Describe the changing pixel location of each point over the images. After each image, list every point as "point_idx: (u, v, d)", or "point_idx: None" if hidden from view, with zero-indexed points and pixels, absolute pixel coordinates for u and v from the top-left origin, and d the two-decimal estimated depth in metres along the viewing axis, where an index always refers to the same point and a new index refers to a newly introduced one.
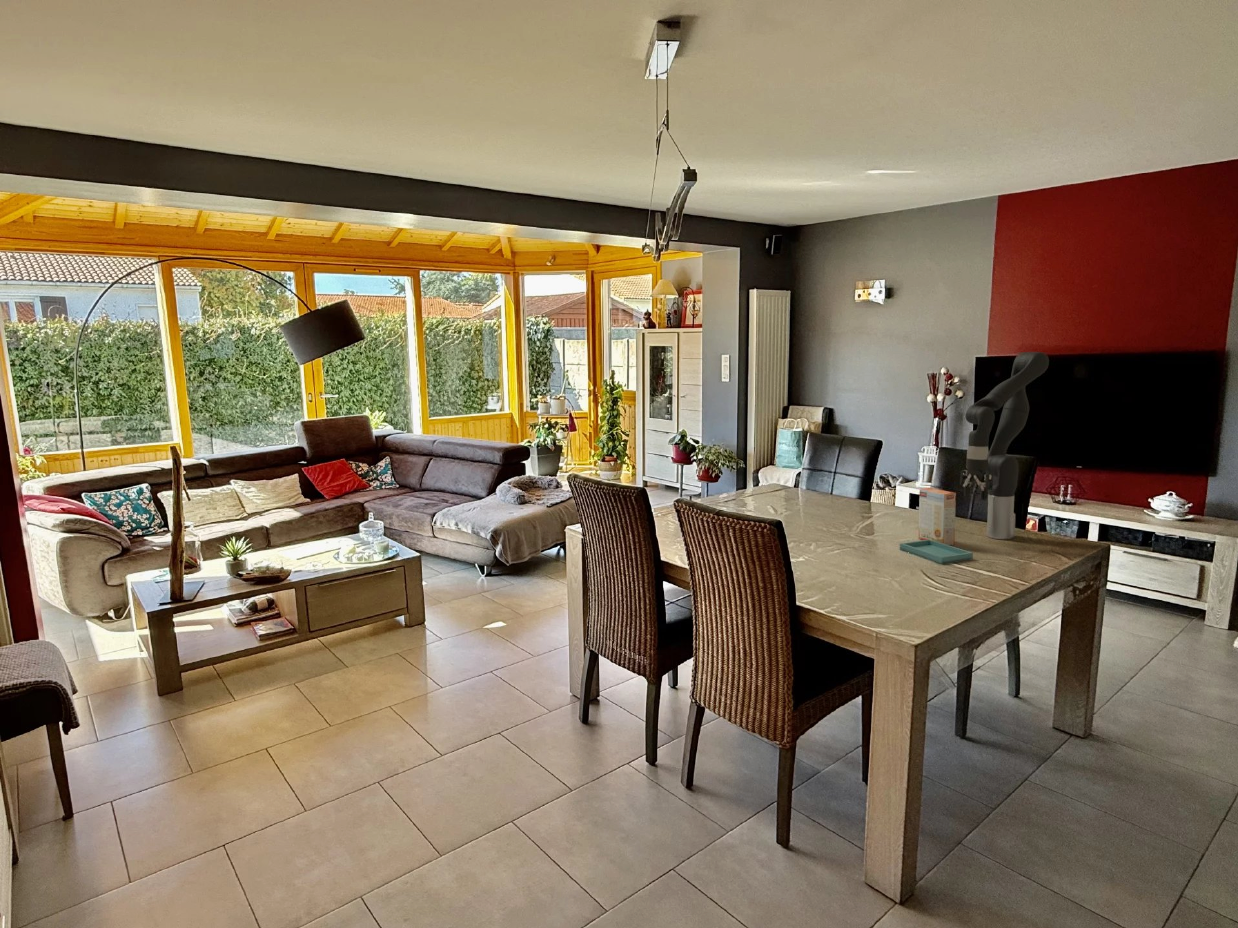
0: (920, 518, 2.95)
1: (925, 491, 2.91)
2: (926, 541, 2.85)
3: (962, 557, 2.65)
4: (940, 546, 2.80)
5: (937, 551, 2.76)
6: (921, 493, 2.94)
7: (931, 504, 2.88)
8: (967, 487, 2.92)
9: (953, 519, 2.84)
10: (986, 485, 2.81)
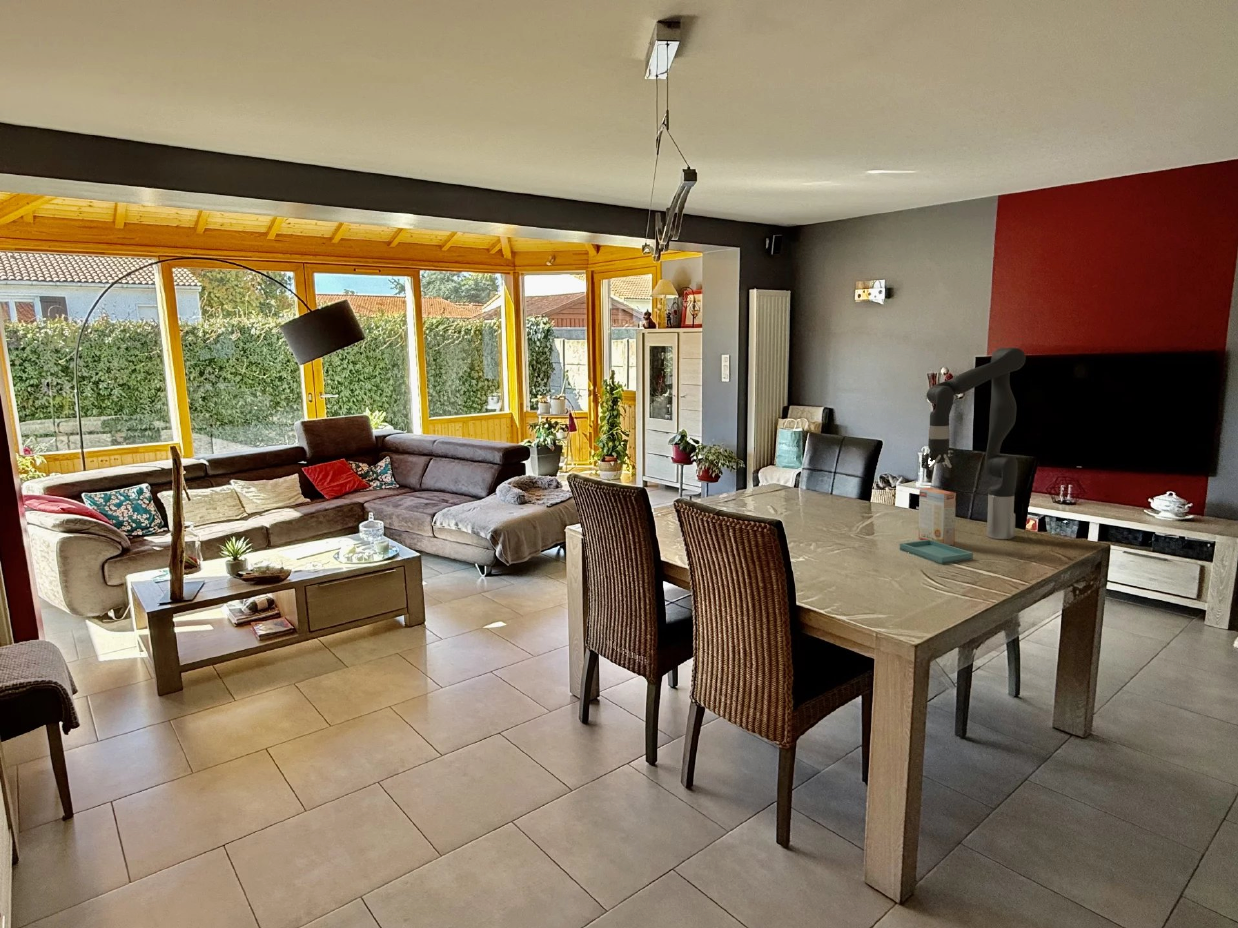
0: (920, 518, 2.95)
1: (925, 491, 2.91)
2: (926, 541, 2.85)
3: (962, 557, 2.65)
4: (940, 546, 2.80)
5: (937, 551, 2.76)
6: (921, 493, 2.94)
7: (931, 504, 2.88)
8: None
9: (953, 519, 2.84)
10: (953, 461, 2.88)
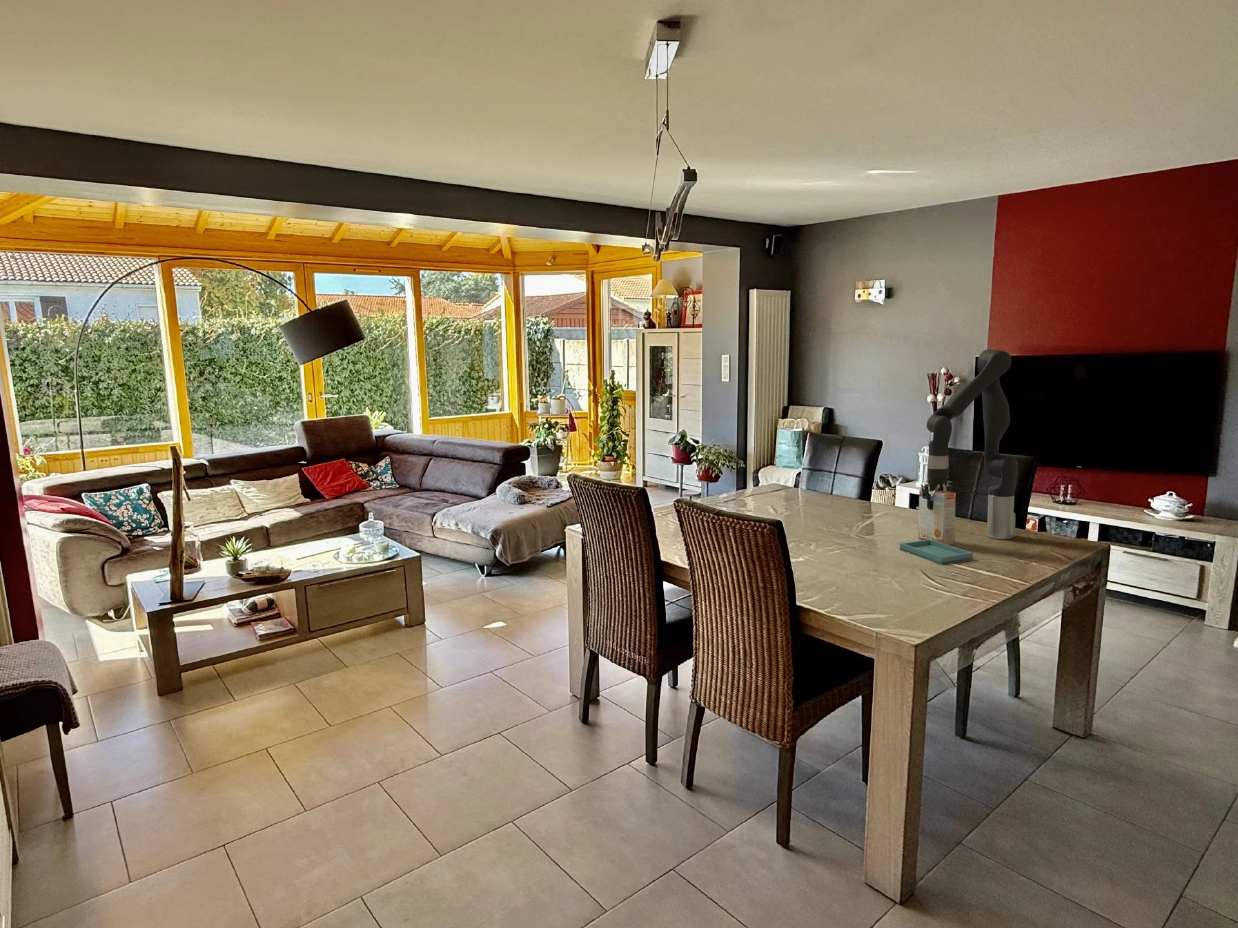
0: (920, 518, 2.95)
1: None
2: (926, 541, 2.85)
3: (962, 557, 2.65)
4: (940, 546, 2.80)
5: (937, 551, 2.76)
6: (921, 493, 2.94)
7: None
8: None
9: (953, 519, 2.84)
10: None
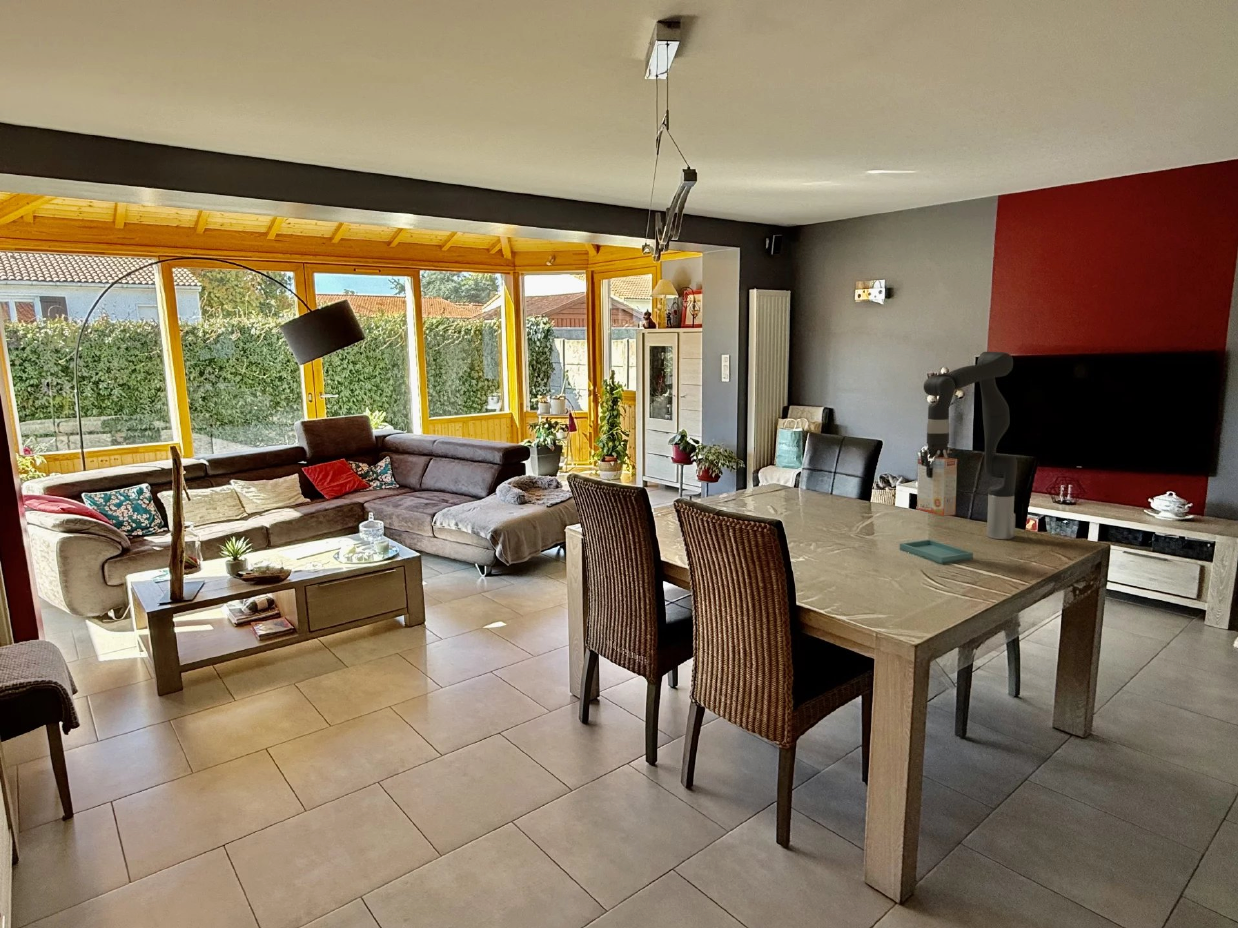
0: (919, 487, 2.76)
1: None
2: (926, 541, 2.85)
3: (962, 557, 2.65)
4: (940, 546, 2.80)
5: (937, 551, 2.76)
6: (920, 460, 2.74)
7: None
8: None
9: (954, 487, 2.65)
10: None
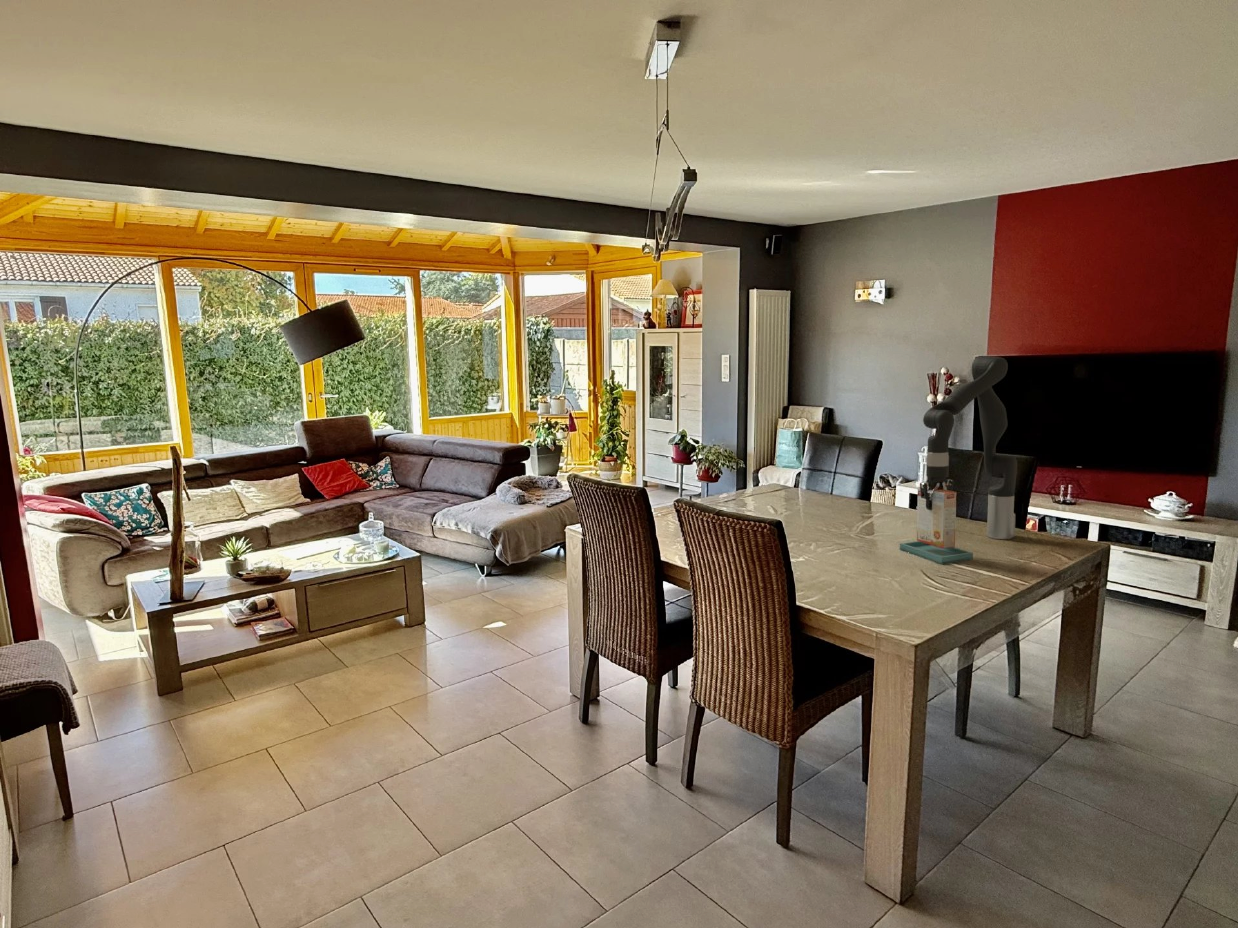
0: (919, 518, 2.77)
1: None
2: None
3: (962, 557, 2.65)
4: None
5: (937, 551, 2.76)
6: (919, 492, 2.76)
7: None
8: None
9: (953, 520, 2.67)
10: None
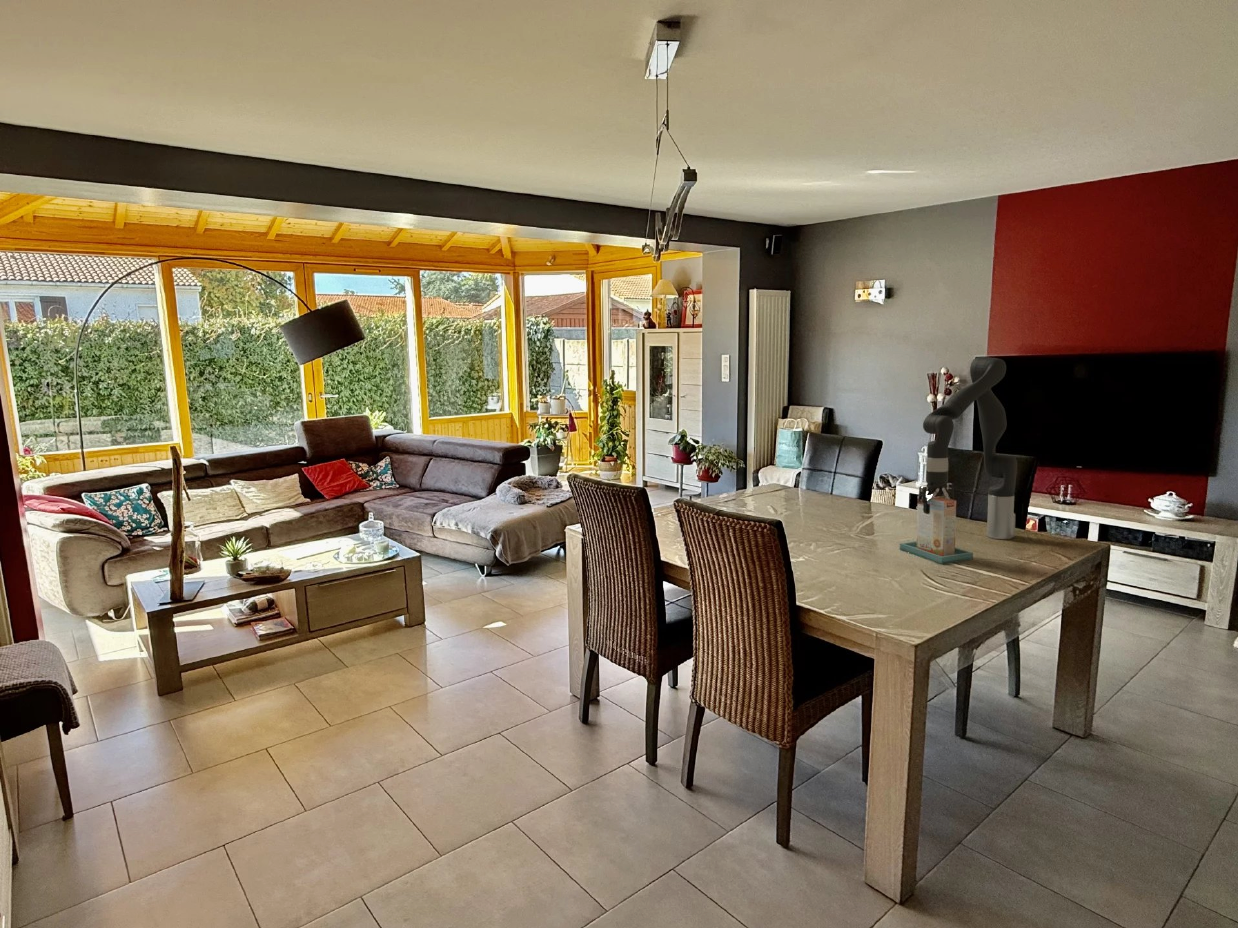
0: (919, 526, 2.78)
1: None
2: None
3: (962, 557, 2.65)
4: None
5: None
6: None
7: (930, 512, 2.71)
8: None
9: (953, 528, 2.67)
10: (952, 494, 2.72)
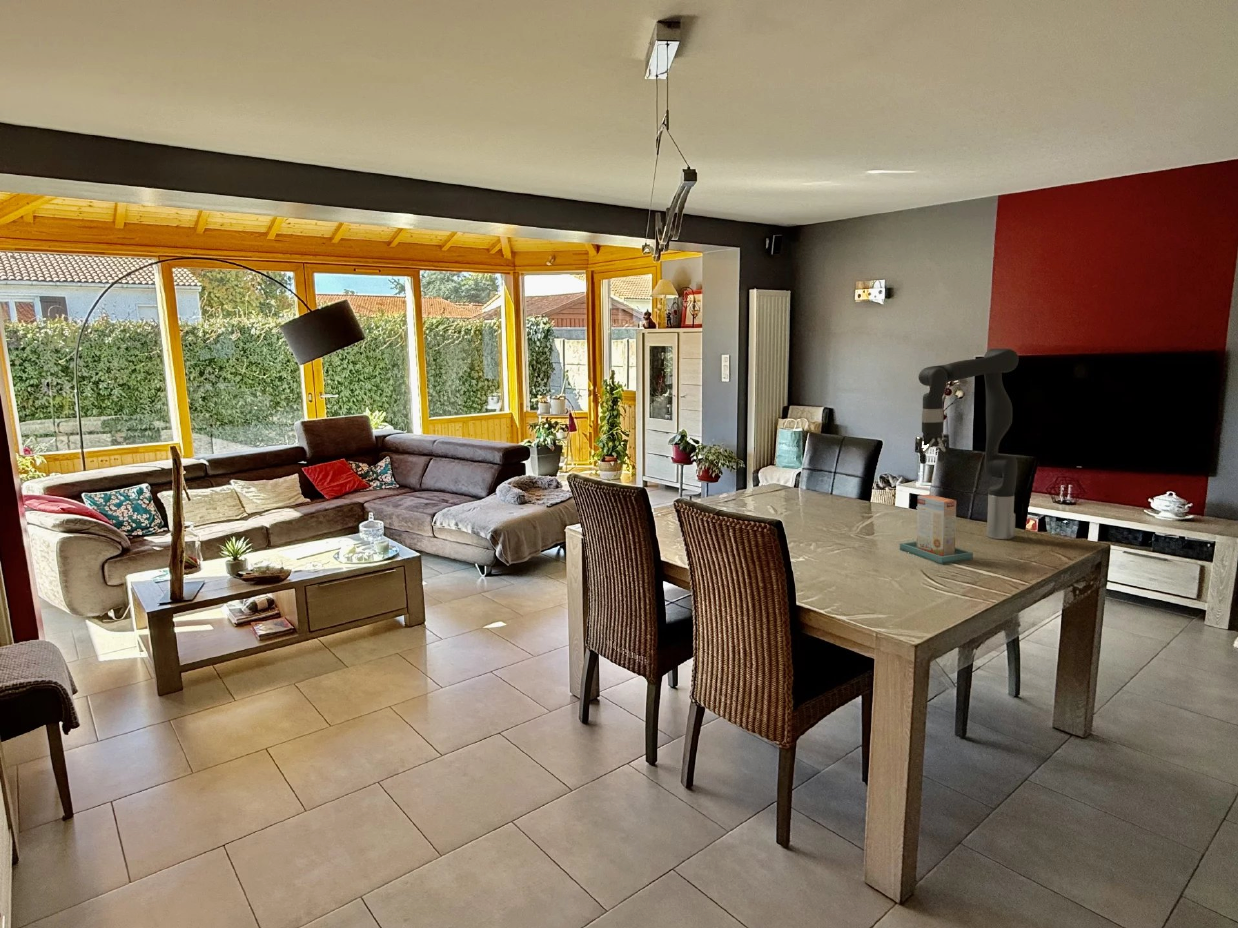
0: (919, 526, 2.78)
1: (924, 498, 2.74)
2: None
3: (962, 557, 2.65)
4: None
5: None
6: (919, 500, 2.76)
7: (930, 512, 2.71)
8: None
9: (953, 528, 2.67)
10: (947, 445, 2.80)
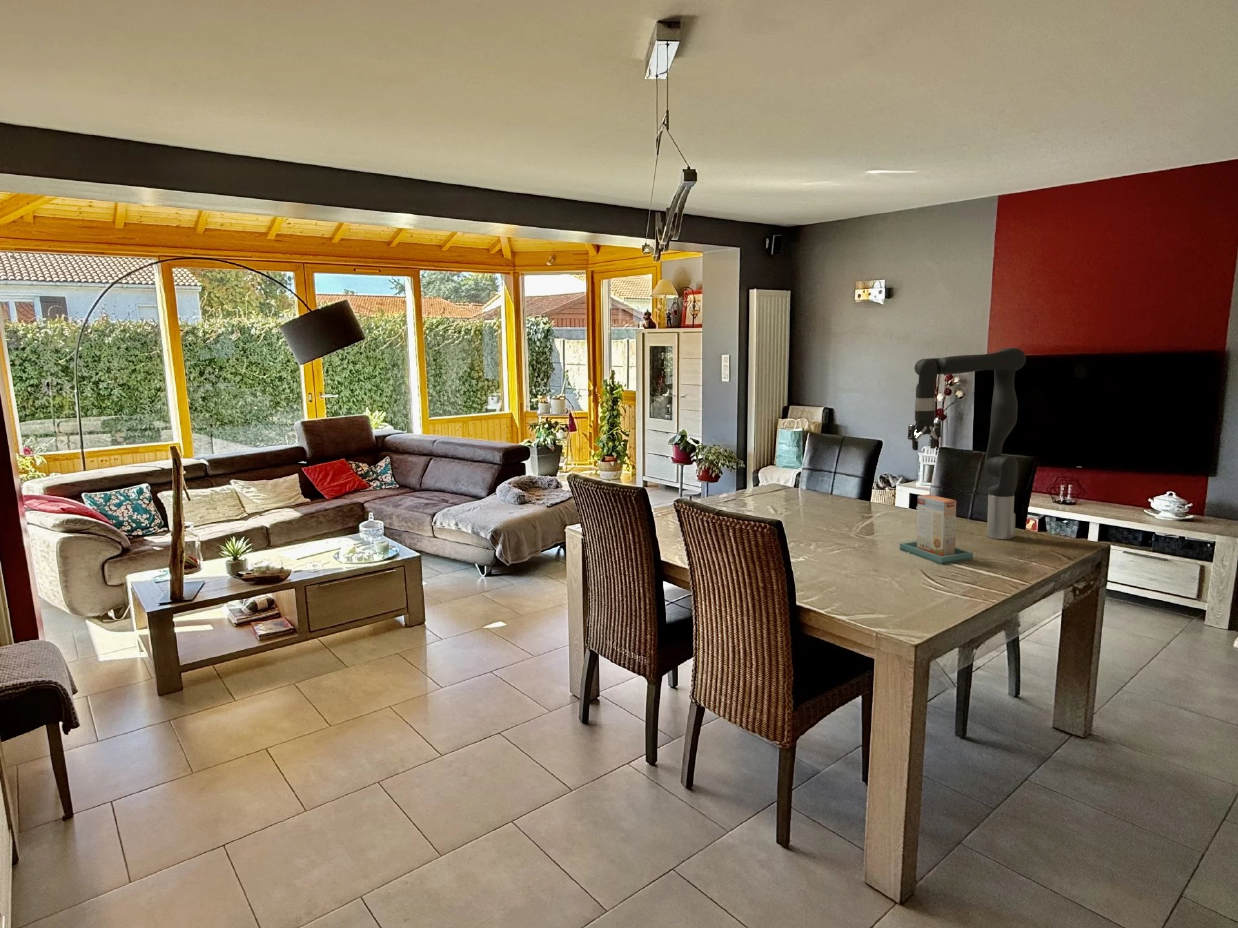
0: (919, 526, 2.78)
1: (924, 498, 2.74)
2: None
3: (962, 557, 2.65)
4: None
5: None
6: (919, 500, 2.76)
7: (930, 512, 2.71)
8: None
9: (953, 528, 2.67)
10: (939, 433, 2.95)
